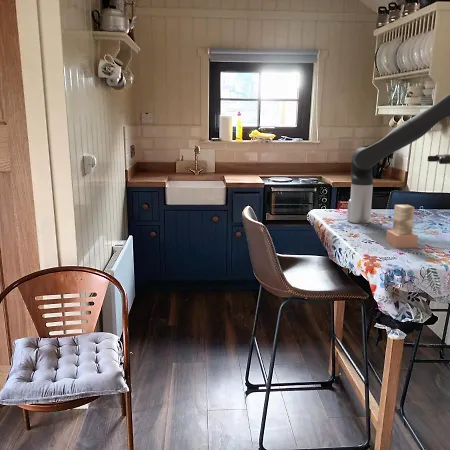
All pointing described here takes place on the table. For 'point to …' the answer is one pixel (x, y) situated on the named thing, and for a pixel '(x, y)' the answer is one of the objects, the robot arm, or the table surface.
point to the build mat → (381, 240)
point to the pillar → (403, 219)
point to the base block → (401, 239)
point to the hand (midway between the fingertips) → (433, 159)
